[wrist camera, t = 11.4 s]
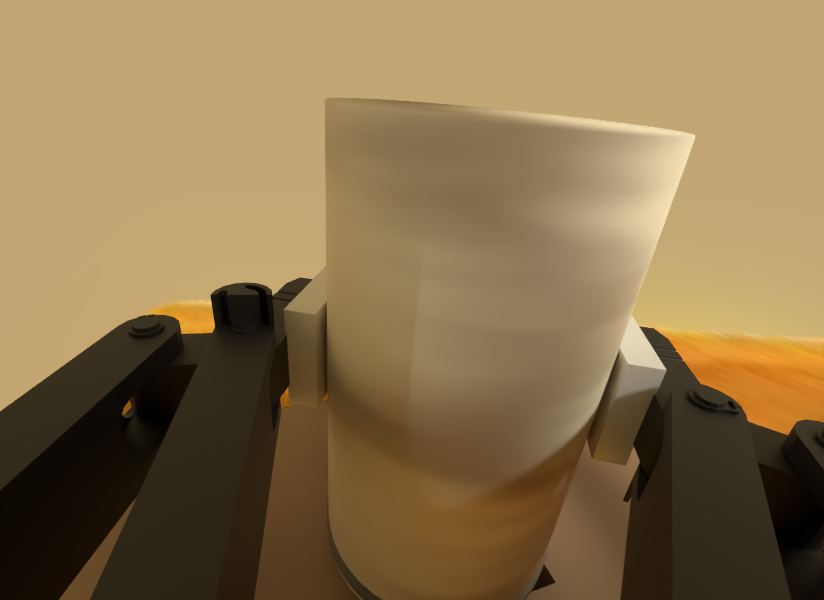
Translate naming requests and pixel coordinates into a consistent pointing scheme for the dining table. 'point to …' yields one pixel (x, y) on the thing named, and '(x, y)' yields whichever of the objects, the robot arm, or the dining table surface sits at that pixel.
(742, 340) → the dining table surface
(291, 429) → the walnut board
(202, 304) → the dining table surface
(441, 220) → the ash leg
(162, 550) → the robot arm
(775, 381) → the dining table surface
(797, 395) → the dining table surface
